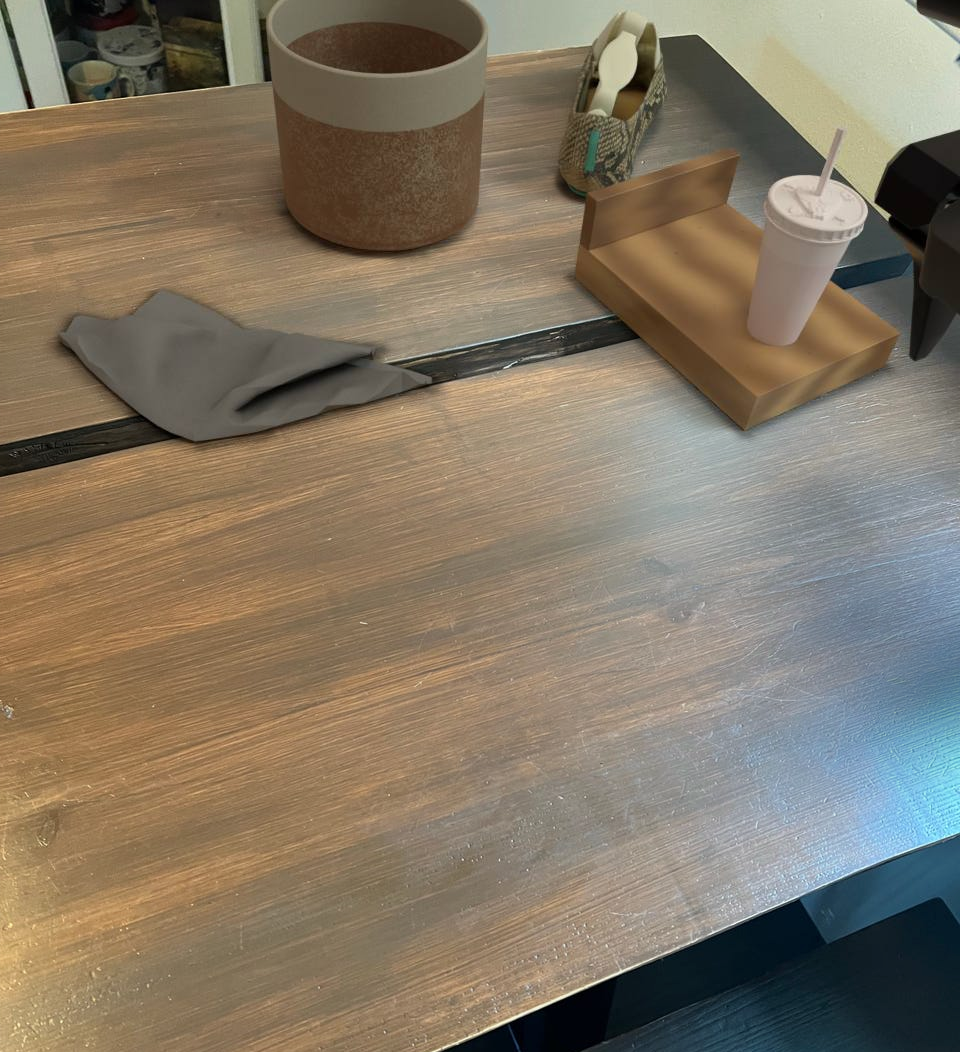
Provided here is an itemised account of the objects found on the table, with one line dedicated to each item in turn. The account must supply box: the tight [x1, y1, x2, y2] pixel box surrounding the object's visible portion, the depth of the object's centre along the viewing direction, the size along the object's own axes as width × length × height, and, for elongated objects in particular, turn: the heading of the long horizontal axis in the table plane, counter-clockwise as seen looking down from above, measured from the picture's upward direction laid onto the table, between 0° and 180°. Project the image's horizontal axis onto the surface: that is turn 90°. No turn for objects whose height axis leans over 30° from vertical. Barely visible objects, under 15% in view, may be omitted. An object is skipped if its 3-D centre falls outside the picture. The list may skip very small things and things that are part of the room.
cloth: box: [56, 289, 433, 442], centre depth 68 cm, size 26×14×2 cm, turn 71°
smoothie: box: [747, 125, 869, 346], centre depth 65 cm, size 6×6×14 cm
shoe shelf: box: [573, 147, 901, 431], centre depth 73 cm, size 14×20×7 cm
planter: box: [265, 0, 489, 252], centre depth 77 cm, size 16×16×14 cm
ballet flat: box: [557, 9, 668, 198], centre depth 87 cm, size 8×25×9 cm, turn 166°
